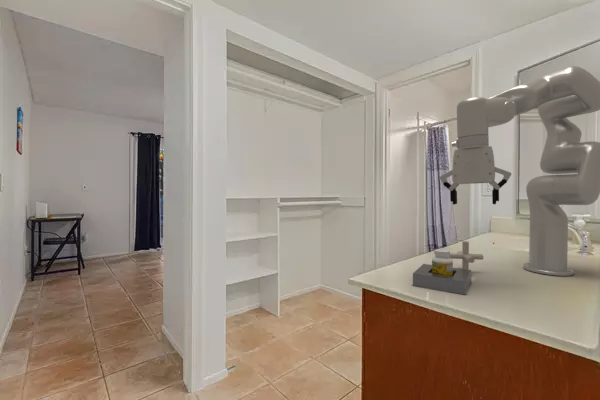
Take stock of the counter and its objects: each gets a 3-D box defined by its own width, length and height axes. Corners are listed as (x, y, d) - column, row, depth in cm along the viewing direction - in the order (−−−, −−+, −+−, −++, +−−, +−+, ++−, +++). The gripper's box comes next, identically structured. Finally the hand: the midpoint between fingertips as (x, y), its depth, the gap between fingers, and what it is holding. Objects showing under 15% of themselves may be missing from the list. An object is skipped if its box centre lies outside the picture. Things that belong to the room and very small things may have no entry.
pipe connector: (489, 276, 88) (489, 244, 88) (454, 275, 90) (454, 243, 90) (475, 268, 98) (476, 239, 97) (444, 267, 100) (444, 238, 99)
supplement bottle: (456, 285, 80) (457, 251, 80) (443, 287, 78) (444, 253, 78) (440, 279, 85) (440, 248, 85) (427, 282, 83) (427, 249, 83)
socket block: (423, 274, 91) (423, 263, 91) (470, 281, 83) (470, 270, 83) (412, 285, 80) (412, 273, 80) (465, 295, 72) (465, 281, 72)
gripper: (436, 146, 82) (438, 205, 83) (510, 137, 72) (511, 205, 72) (441, 148, 88) (443, 203, 89) (510, 140, 78) (511, 203, 78)
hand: (474, 204), depth 81 cm, fingers open, 9 cm apart
